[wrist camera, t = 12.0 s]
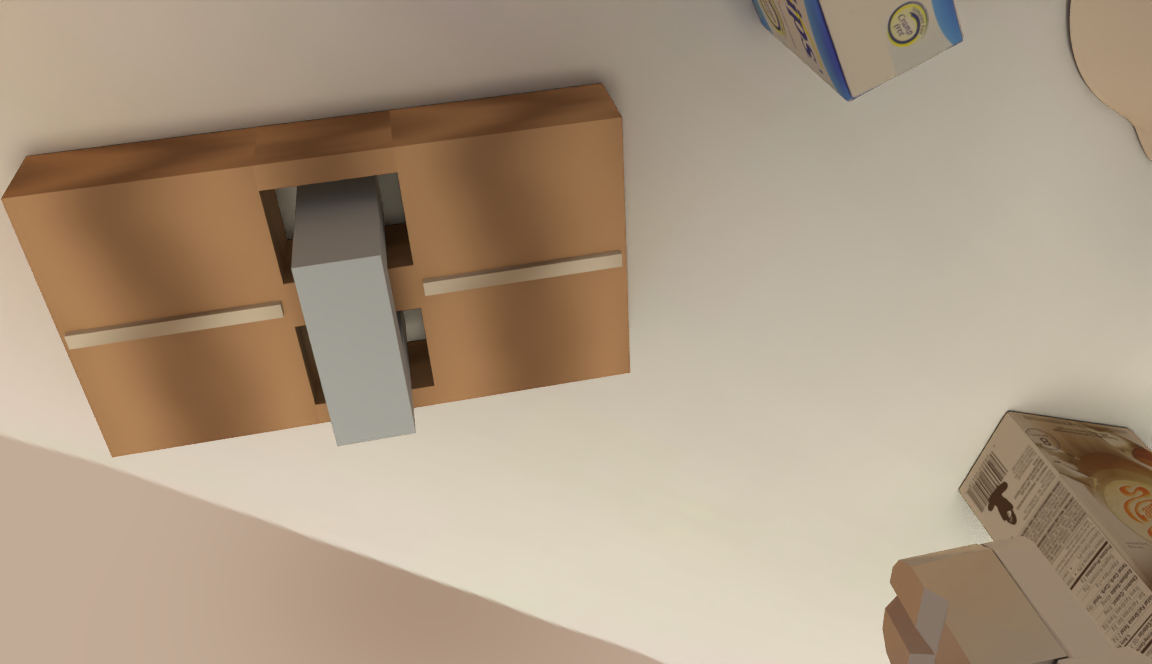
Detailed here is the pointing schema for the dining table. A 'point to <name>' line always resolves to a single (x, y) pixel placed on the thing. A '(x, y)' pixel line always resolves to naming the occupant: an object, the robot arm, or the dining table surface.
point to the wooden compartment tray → (264, 255)
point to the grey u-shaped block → (352, 309)
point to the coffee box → (1076, 512)
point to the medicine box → (861, 37)
